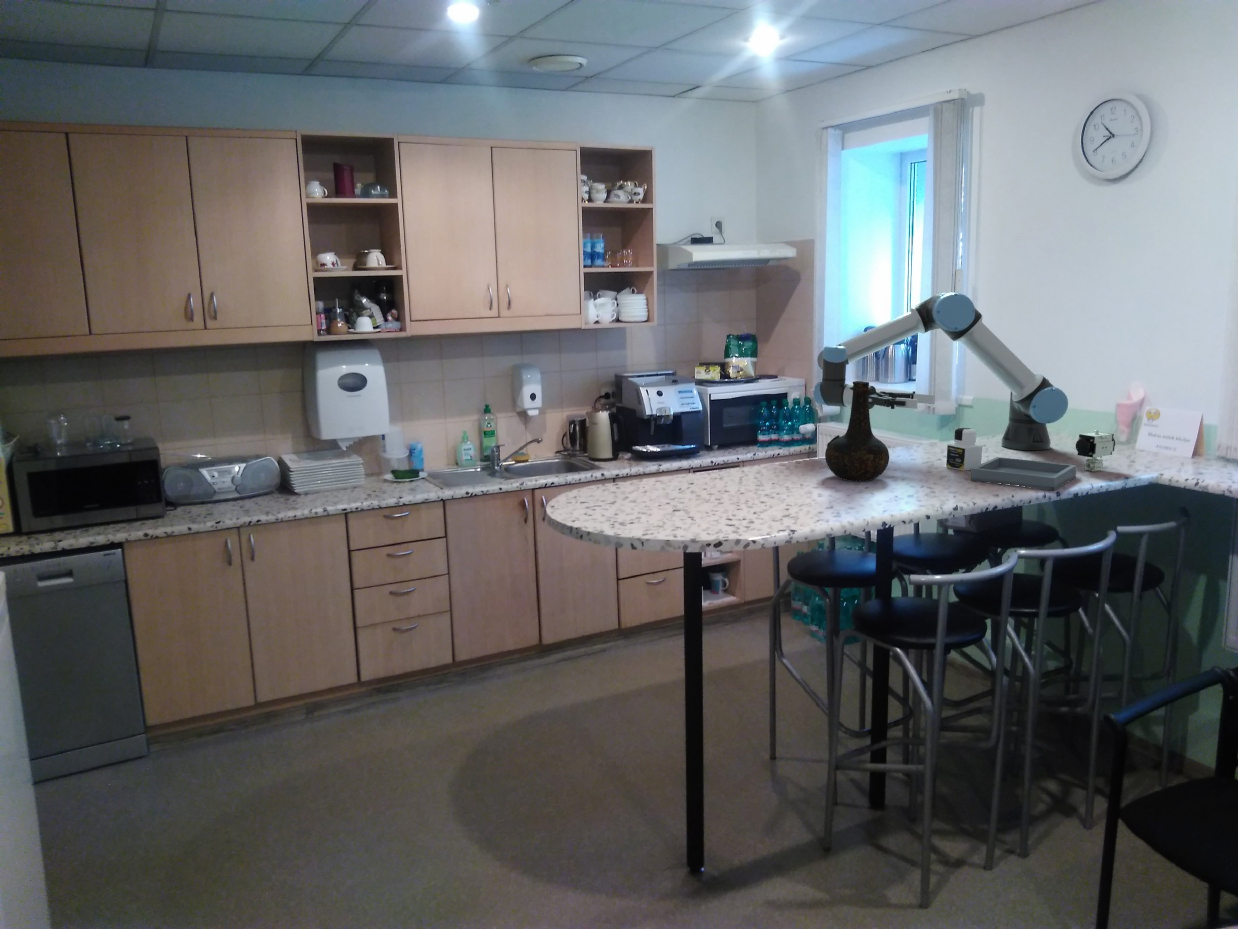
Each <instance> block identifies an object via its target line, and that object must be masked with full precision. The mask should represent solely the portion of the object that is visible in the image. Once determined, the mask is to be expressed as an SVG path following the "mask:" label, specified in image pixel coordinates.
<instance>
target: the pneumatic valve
mask: <svg viewBox="0 0 1238 929" xmlns="http://www.w3.org/2000/svg"><path fill="white" fill-rule="evenodd" d="M1114 436H1115V435H1114V433H1109V432H1104V431H1099V430H1098V429H1097V430H1094V432H1088V433H1079V434H1078V439H1077V441H1076V443H1075V449H1076V451H1077V456H1082V457H1086V458H1085V460H1084V462H1085V463H1084V471H1089V472H1093V471H1094V472H1093V473H1096V472H1095V471H1097V472H1102V471H1103V468H1102V467H1103V465H1104V463H1103V462H1104V459H1101V458H1103V457H1104V456H1111V455H1112V454H1113V453H1114V452H1115V448H1116V447H1115V446H1116V440H1115V437H1114ZM1097 458H1098V459H1097ZM1099 458H1100V459H1099ZM1101 470H1102V471H1101Z"/></svg>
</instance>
